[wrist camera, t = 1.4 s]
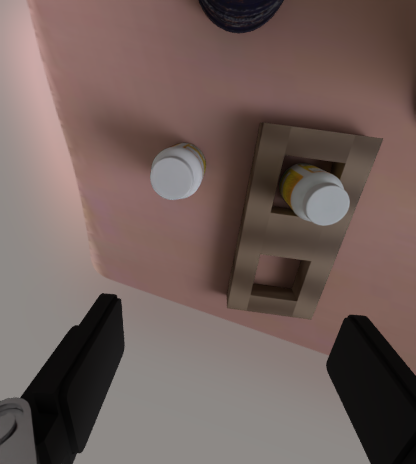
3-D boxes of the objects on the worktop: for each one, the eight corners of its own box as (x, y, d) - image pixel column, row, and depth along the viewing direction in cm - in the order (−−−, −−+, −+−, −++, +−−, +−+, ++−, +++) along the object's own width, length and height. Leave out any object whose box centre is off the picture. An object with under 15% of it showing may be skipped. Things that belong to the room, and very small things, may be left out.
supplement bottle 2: (312, 155, 30) (350, 166, 21) (325, 192, 31) (365, 218, 23) (271, 174, 31) (291, 193, 22) (286, 209, 33) (309, 240, 24)
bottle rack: (260, 123, 28) (264, 122, 26) (367, 137, 28) (383, 138, 26) (226, 295, 39) (227, 308, 36) (305, 306, 39) (311, 319, 36)
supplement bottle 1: (165, 183, 32) (143, 204, 23) (165, 140, 30) (140, 146, 21) (204, 186, 32) (198, 209, 23) (207, 144, 30) (201, 151, 21)
